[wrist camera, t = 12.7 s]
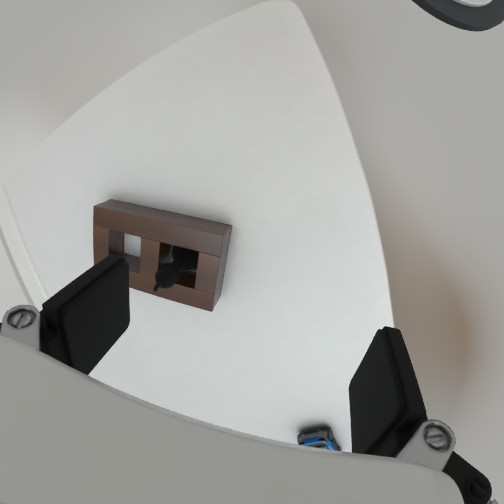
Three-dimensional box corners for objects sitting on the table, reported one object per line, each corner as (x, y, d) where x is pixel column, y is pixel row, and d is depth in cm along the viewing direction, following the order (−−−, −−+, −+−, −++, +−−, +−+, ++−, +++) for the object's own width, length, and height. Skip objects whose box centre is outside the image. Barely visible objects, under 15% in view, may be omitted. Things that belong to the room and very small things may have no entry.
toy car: (315, 458, 51) (314, 480, 45) (295, 427, 48) (292, 452, 42) (344, 452, 49) (344, 475, 44) (327, 420, 46) (327, 446, 41)
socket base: (110, 199, 38) (93, 205, 34) (232, 225, 37) (223, 235, 33) (109, 264, 42) (94, 275, 38) (220, 296, 40) (211, 312, 37)
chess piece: (167, 256, 40) (130, 290, 30) (183, 229, 38) (145, 259, 29) (195, 275, 40) (164, 315, 31) (212, 250, 38) (182, 286, 29)
